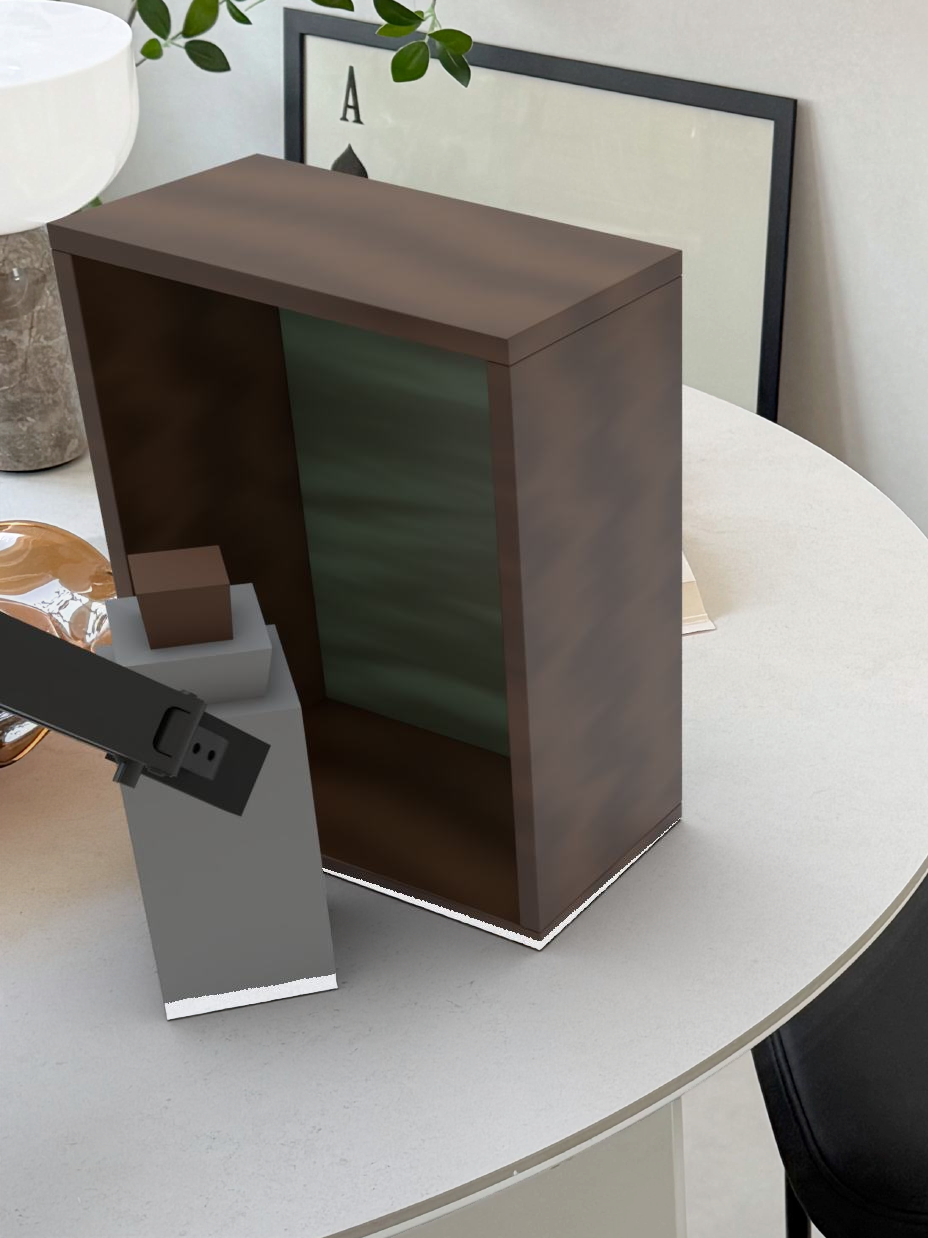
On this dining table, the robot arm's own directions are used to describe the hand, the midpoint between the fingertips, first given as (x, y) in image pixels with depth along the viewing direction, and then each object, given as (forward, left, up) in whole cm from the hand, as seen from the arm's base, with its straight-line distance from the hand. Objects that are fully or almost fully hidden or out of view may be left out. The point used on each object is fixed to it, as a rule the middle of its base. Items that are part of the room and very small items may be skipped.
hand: (97, 725), depth 70 cm
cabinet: (-9, +15, -14) cm, 22 cm away
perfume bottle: (-3, +4, -14) cm, 15 cm away
